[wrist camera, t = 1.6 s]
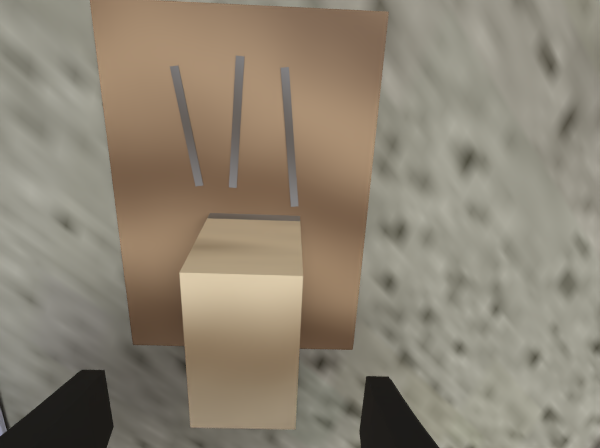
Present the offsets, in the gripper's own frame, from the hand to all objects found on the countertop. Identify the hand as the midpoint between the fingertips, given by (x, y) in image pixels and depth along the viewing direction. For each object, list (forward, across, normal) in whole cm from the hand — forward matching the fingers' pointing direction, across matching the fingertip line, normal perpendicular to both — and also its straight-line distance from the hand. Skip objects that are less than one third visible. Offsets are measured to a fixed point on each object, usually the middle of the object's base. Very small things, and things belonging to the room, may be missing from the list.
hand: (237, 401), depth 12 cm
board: (+8, +1, -4) cm, 9 cm away
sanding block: (+7, 0, 0) cm, 7 cm away
